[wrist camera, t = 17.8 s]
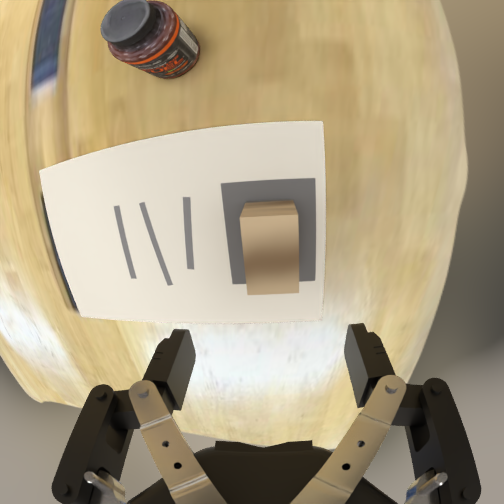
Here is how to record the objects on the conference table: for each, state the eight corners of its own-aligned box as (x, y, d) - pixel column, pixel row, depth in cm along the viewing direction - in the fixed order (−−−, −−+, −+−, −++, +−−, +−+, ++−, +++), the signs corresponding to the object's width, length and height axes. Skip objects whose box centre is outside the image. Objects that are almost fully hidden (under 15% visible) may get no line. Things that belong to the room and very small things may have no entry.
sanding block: (245, 201, 26) (239, 217, 21) (292, 199, 26) (298, 214, 21) (251, 267, 29) (247, 295, 24) (294, 265, 28) (299, 292, 23)
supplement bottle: (157, 89, 23) (96, 70, 13) (141, 47, 21) (82, 17, 11) (209, 65, 22) (171, 25, 12) (191, 23, 20) (150, -26, 10)
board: (46, 168, 27) (39, 170, 26) (320, 121, 24) (322, 120, 22) (86, 311, 36) (81, 316, 34) (320, 312, 32) (321, 320, 31)
